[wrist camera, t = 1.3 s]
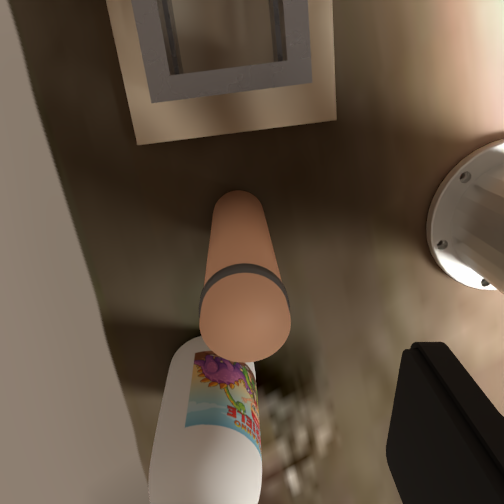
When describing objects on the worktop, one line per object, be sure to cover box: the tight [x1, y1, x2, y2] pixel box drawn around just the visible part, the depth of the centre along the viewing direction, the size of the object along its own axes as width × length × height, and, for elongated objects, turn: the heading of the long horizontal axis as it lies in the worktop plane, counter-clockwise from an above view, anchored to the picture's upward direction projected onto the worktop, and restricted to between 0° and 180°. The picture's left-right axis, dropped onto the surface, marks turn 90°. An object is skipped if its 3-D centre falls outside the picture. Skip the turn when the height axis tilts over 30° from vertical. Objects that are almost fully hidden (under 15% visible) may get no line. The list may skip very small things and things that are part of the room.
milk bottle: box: [148, 336, 262, 504], centre depth 29 cm, size 8×8×20 cm
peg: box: [199, 190, 291, 363], centre depth 26 cm, size 4×4×16 cm
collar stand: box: [106, 0, 337, 145], centre depth 24 cm, size 14×14×8 cm
